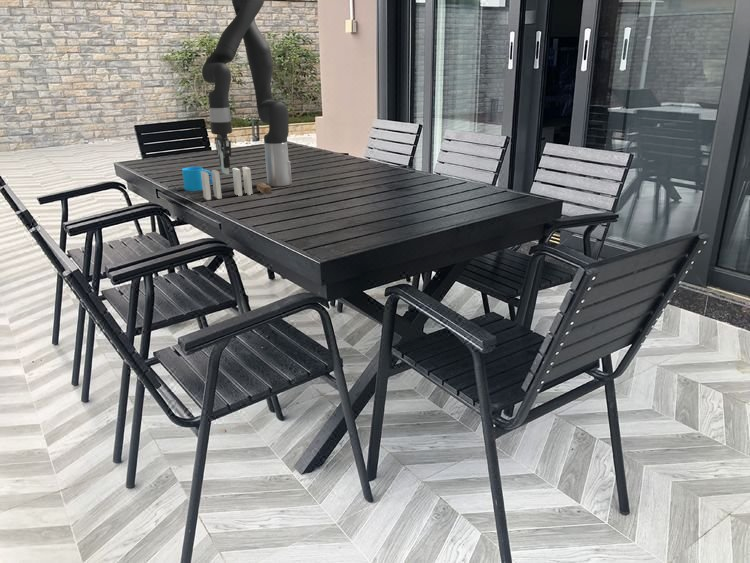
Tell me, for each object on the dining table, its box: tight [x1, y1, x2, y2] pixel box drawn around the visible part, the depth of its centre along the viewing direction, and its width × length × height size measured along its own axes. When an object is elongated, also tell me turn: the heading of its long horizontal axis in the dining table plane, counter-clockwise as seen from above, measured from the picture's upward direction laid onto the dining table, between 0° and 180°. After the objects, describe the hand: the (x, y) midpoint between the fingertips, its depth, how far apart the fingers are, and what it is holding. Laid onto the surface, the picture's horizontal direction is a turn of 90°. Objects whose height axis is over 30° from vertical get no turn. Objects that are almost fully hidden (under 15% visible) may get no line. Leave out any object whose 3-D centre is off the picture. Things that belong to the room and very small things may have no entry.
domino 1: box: [201, 171, 212, 201], centre depth 230 cm, size 2×5×10 cm, turn 28°
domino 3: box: [219, 147, 230, 175], centre depth 230 cm, size 2×5×10 cm, turn 28°
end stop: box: [255, 182, 272, 195], centre depth 241 cm, size 3×9×2 cm, turn 28°
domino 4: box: [232, 167, 243, 197], centre depth 235 cm, size 2×5×10 cm, turn 28°
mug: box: [181, 166, 213, 192], centre depth 248 cm, size 12×8×8 cm
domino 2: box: [210, 169, 223, 199], centre depth 231 cm, size 2×5×10 cm, turn 28°
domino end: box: [242, 166, 254, 196], centre depth 237 cm, size 2×5×10 cm, turn 28°
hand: (225, 166), depth 231 cm, fingers closed on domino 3, 5 cm apart
